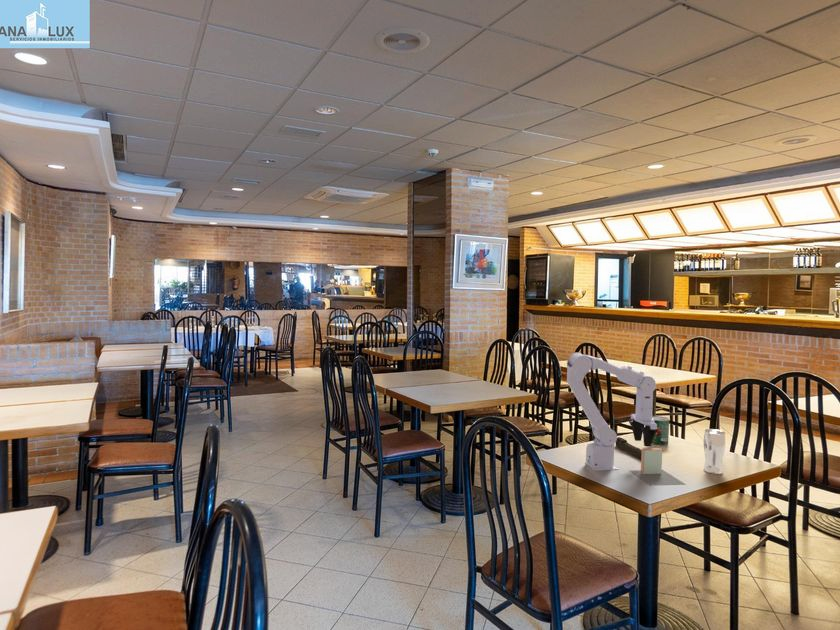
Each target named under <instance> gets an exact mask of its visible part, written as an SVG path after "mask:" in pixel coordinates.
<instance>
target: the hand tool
mask: <svg viewBox="0 0 840 630" xmlns="http://www.w3.org/2000/svg"><path fill="white" fill-rule="evenodd" d="M615 447H616V448H617V449H619V450H621V451H625V452H627V453H629V454H630V455H632V456H634V457H635V458H637V459H638V460H640V461H641V454H642V448H640V447H636V446H635V445H632V444H631V443H630V442H628V440H627V439H625V438H623V437H620V436H617V440H616V442H615Z"/></svg>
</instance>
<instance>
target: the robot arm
mask: <svg viewBox="0 0 840 630" xmlns="http://www.w3.org/2000/svg"><path fill="white" fill-rule="evenodd" d="M566 367H567V368H566V374H567V375H566V382H567V384H568V386H569V389H571V391H572V393H573V394H574V397H575V398H576V400H577V402H578V404H579V405H580V407H581V409H582V410H583V412H584V414H585V416H586V417H587V419H588V420H589V423H590V426H591V429H592V434H593V436H594V439H593V442H591V443H587V445H586V451H585V452H586V453H585V462H584V464H585V465H587V467H589V468H590V469H592V470H593V471H619V468H618V467H616V466H615V464H614V463H615V462H614V461H615V459H614V458H615V456H614V455H615V444H616V440H617V437H618V436H617V435H618V434H617V433H616V431H615V430H614V429H612V428H611V427H610V425H609V424H608V423H607V422H606V420H605V419H604V418H603V416H602V414H601V412H600V411H599V409H598V407H597V405H596V403H595V402H594V399H592V398H593V397H592V396H591V394H590V393H589V392H588V390H587V388H586V387H585V384H584V383H583V381H584V379H585V377H586V375H587V374H588V372H589V371H590V370H591V371H594V370H597V369H598V370H601V371H604V372H606V373H609V374H611V375H614V376H616V377H617V378H616V379H617V380H618V381H619V382H622V383H624V384H626V385H629V386H632V387H634V388H636V395H635V396H636V397H635V413H631V414H630V420H629V425H630V428H631V429H632V433H633V438H634V441H636V442H638V441H639V442H641V441H642V438H643V446H644V447H651V446H652V444H651V443H652V440H653V437H654V435H655V434H656V432H657V431H658V429H657V424H656V423H655V422H654V421H655V419H653V418H652V416H653V405H654V403H653V402H654V391H655V390H656V388H657V386H658V385H657V384H656V380H655V379H654V377H653V376H650V375H647V374H646V373H645V372H643V371H637V370H635V369H633V367H632V366H630V365H627V366H620V367H618V366H616V365H614V364H611V363H609V362H608V361H605V360H603V359H601V358H599V357H595V356H592V355H589V354H582V353H581V352H573V353H571V354H570V356H569V357H568V359H567V361H566Z"/></svg>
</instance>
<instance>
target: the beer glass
mask: <svg viewBox="0 0 840 630" xmlns="http://www.w3.org/2000/svg"><path fill="white" fill-rule="evenodd" d="M725 450H726V432H725V431H723V430H721V429H720V430H719V429H715V428H706V429H704V435H703V452H704V459H705V460H704V461H705V462H704V466H703V472H705V471H706V473H707V474H711V473H712V475H722V474H723V466H722V465H723V464H722V463H723V457H724V454H725V452H726V451H725Z"/></svg>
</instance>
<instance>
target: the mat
mask: <svg viewBox="0 0 840 630" xmlns="http://www.w3.org/2000/svg"><path fill="white" fill-rule="evenodd" d="M629 472H630V473H632V474H634V475H635V477H637V478H639V479H640V480H642V481H643V482H644V483H646V484H647V485H648V486H680V485H684V486H685V485H686V486H687V484H686V483H684V482H683V481H681V480H680V479H678V478H677V477H675V476H673V475H672V474H670V473H669V472H667V471H665V470H664V469H662V470H661V474H641V469H640V470H639V469H638V470H636V469H635V470H634V469H633V470H629Z"/></svg>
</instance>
